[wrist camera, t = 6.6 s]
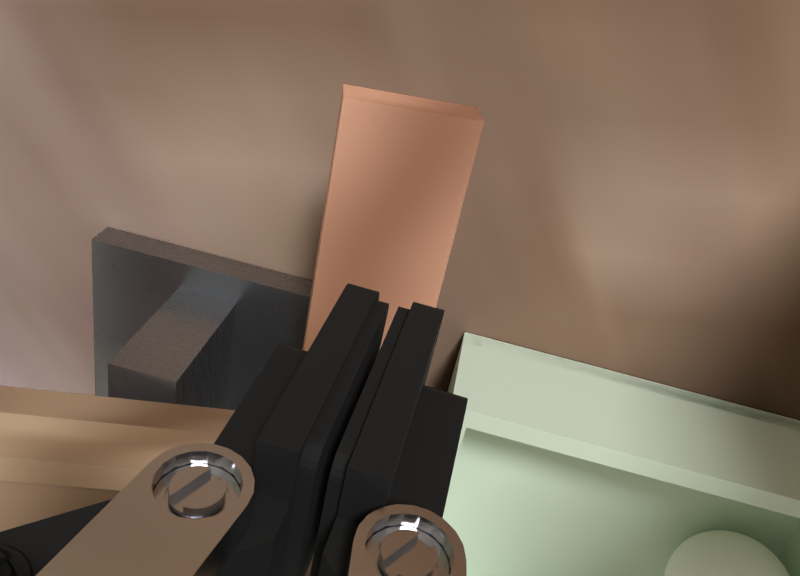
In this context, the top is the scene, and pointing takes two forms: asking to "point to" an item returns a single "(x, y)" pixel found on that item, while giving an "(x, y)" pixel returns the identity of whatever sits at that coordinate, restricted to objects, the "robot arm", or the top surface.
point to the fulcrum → (187, 321)
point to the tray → (608, 468)
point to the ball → (723, 556)
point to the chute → (335, 267)
